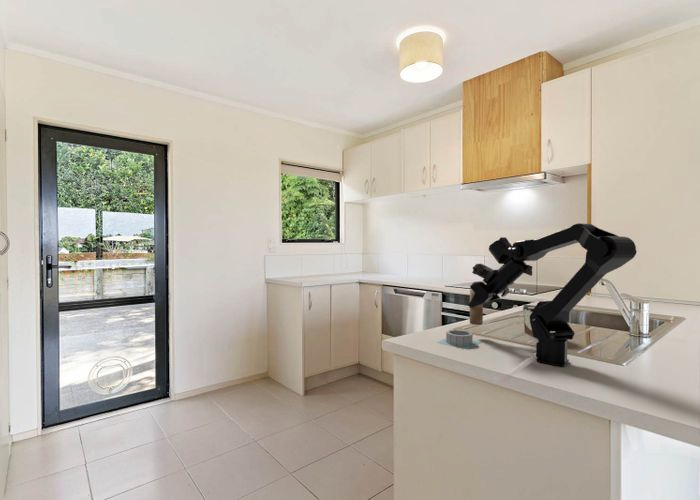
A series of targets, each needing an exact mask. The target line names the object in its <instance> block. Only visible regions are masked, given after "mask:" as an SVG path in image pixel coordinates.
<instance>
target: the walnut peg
mask: <svg viewBox="0 0 700 500" xmlns="http://www.w3.org/2000/svg"><path fill="white" fill-rule="evenodd" d="M474 294H475V292H474V291H473V290H472V289H471V288H470V289H469V302H470V301H471V300H472V298H473V296H474ZM483 310H484V304H480V305H477V306H475V307H472V308H470V307H469V324H471V325H474V326H475V325H476V326H481V325H483V323H484V322H483V321H484V319H483V318H484V311H483Z"/></svg>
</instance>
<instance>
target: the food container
mask: <svg viewBox="0 0 700 500" xmlns="http://www.w3.org/2000/svg"><path fill="white" fill-rule="evenodd" d="M536 305H537V304H536ZM536 305H535V304H523V307H522V311H523V326H524V327H523V332H524V335H527V336H528V337H531V338H533V339H534V340H536V341H539V340H538V339H537V338H534V336H533V332H532V328H531V324H530V315H531V313H532V312H531V310H533V309H534V308H535V307H536Z"/></svg>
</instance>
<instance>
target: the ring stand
mask: <svg viewBox="0 0 700 500" xmlns="http://www.w3.org/2000/svg"><path fill="white" fill-rule="evenodd" d="M445 333H446V334H445V338H444V339H442V340H439V341H437V342H436V343H437V344H440V345H446V346H451V347H455V348H459V349H465V350H469V349H471V348H474V347H475V346H477V345H480V344H482V341H476V340H473V338H474V337H473V333H472V332H471V331H468V330H463V329H449V330H446V332H445Z"/></svg>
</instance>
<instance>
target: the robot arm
mask: <svg viewBox="0 0 700 500" xmlns="http://www.w3.org/2000/svg"><path fill="white" fill-rule="evenodd" d="M577 243H579V245H580V246H581V248H582V249H584V250H586V253H585V260H584V261H585V262H584V264H583V265H582V266H581V267H580V268H579V270H577V272H575V273H574V275H573V276H572V277H571V279H569V281H568V282H566V284H565V285H564V286H563V288H562V289H561V290H560V291H559V292H558V293H557V294H556V295H555V297H553V299H552V300H545V301H544V300H543V301H541V300H540V301H539V302H537V303H536V307H535V308H534V309H533V310H531V312H532V313H531V315H530V324H531V328H532V332H533V336H534V338H537V339H538V340H537V342H536V344H535V346H536V349H535V350H536V351H535V357H536V359H535V361H536V362H538V363H543V364H548V365H553V366H557V367H562V368H563V367H565V366H566V365H567V364H568V363H569V361H570V360H569V359H568V342H569V341H568V340H573V339H574V336H575V331H574V330H573V329H572V327H571V326H570V325H569V323H568V322H569V320H570V313H571V311H572V310H573V309H574V308H575V307H576V306H577V305H578V304H579V303H580V301H582V299H584V297H586V295H588V293H589V292H591V290H592V289H593V288H594V287H595V286H596V285H597V284H598V283H599V281H601V280H602V278H604V276H606V275H607V274H609V273H610V272H613V271H615V270H617V269H619V268H621V267H623V266H624V265H626V264H627V263H629V262H630V261H632V260H633V259H634V258H635V257H636V255H637V245H636V243H635V242H634V240H633V239H632V238H630V237H627V236H619V235H617V234H616V233H612V232H609V231H606V230H604V229H601V228H599V227H597V226H595V225H593V224H592V223H583V222H582V223H575V224H573V225H571V226H569V227H566V228H563V229H561V230H559V231H555V232H553V233H550V234H547V235H545V236H542V237H540V238H535V239H525V240H519V241H515V242H514V243H513V244H511V243H510V241H509V240H508V238H507V237H503V236H501V237H499V239H498V240H495V241H493V242H492V243H491V244H490V245H489V246H488V251H489V253H490V254H491V255H492V256H493V258H494V259H495V261H496V262H497V264H500V265H501V266H500V267H499V268H498V269H493V268H491V267H489V266H487V265H485V264H483V263H475V264H474V266H472V271H471V273H472V274H474V275H477V277H481V278H482V281H473V282H472V284H470V286H469V287H470V289H472V290H473V291H474V292H475V294H474V296H473V298H472V300H471V301H470V300H469V303H468V308H469V309H470V308H472V307H475V306H477V305H480V304H483V305H484V304H487V303H490V302H493V301H495V300H499V299H500V296H501V298H505V297H506V296H507V295H508V294H509V293H510V288H509V287H510V286H512V285H513V284H515V282H516V281H517V279H519V278H520V277H521V276H522V275H523V274H525V275H528V276H530V277H531V276H533V266H532V265H530V264H527V263H526V262H536V261H538V260H540V259H542V258H544V257H545V256H546V255H547V254H548V253H549V252H553V251H555V250H559V249H562V248H566V247H567V246H571V245H572V246H573V245H574V244H577ZM499 295H500V296H499ZM534 338H533V339H534Z"/></svg>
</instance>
